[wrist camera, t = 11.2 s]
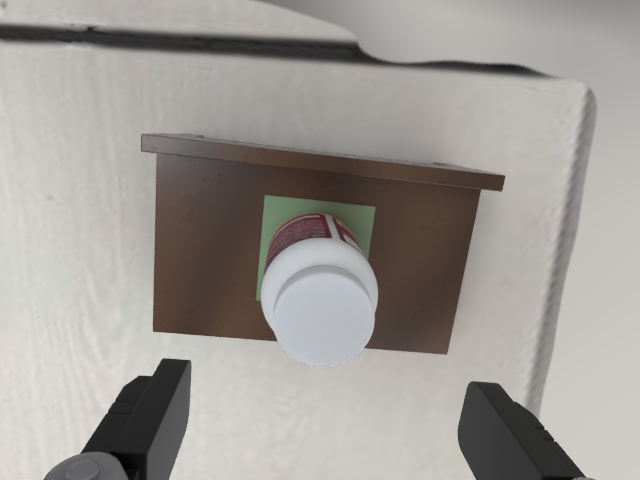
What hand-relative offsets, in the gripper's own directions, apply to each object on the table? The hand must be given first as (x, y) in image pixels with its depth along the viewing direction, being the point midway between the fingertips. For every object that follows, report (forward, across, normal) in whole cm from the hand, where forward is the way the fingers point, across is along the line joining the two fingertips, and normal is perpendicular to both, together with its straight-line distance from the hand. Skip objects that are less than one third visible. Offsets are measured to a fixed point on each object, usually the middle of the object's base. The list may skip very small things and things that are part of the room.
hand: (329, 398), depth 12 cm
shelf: (+24, -1, +1) cm, 24 cm away
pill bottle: (+18, 0, +1) cm, 18 cm away
